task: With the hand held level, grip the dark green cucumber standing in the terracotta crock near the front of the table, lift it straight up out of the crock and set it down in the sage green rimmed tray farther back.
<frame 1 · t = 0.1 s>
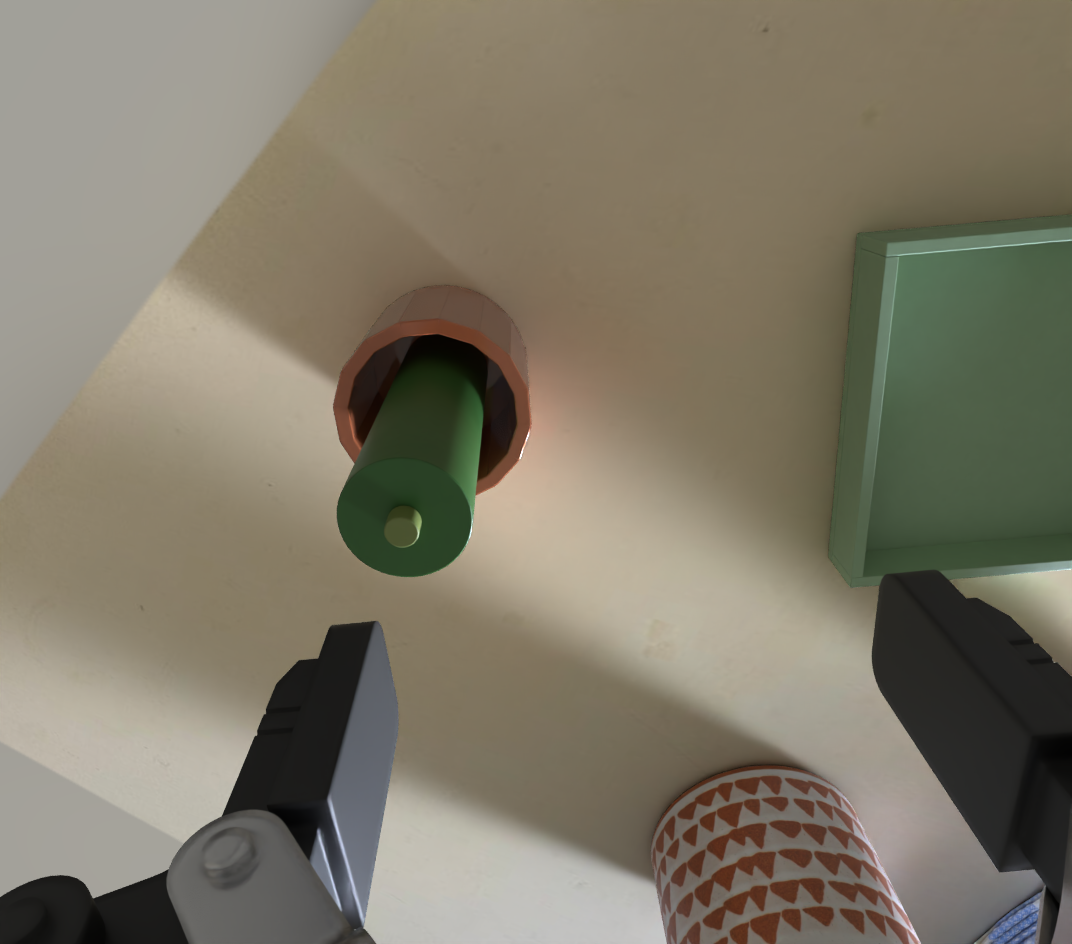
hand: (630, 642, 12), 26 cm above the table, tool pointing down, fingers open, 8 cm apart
crock: (446, 366, 37), on the table
planter: (750, 835, 51), on the table
tray: (991, 397, 38), on the table
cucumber: (445, 371, 36), point 1 cm above the table, touching crock
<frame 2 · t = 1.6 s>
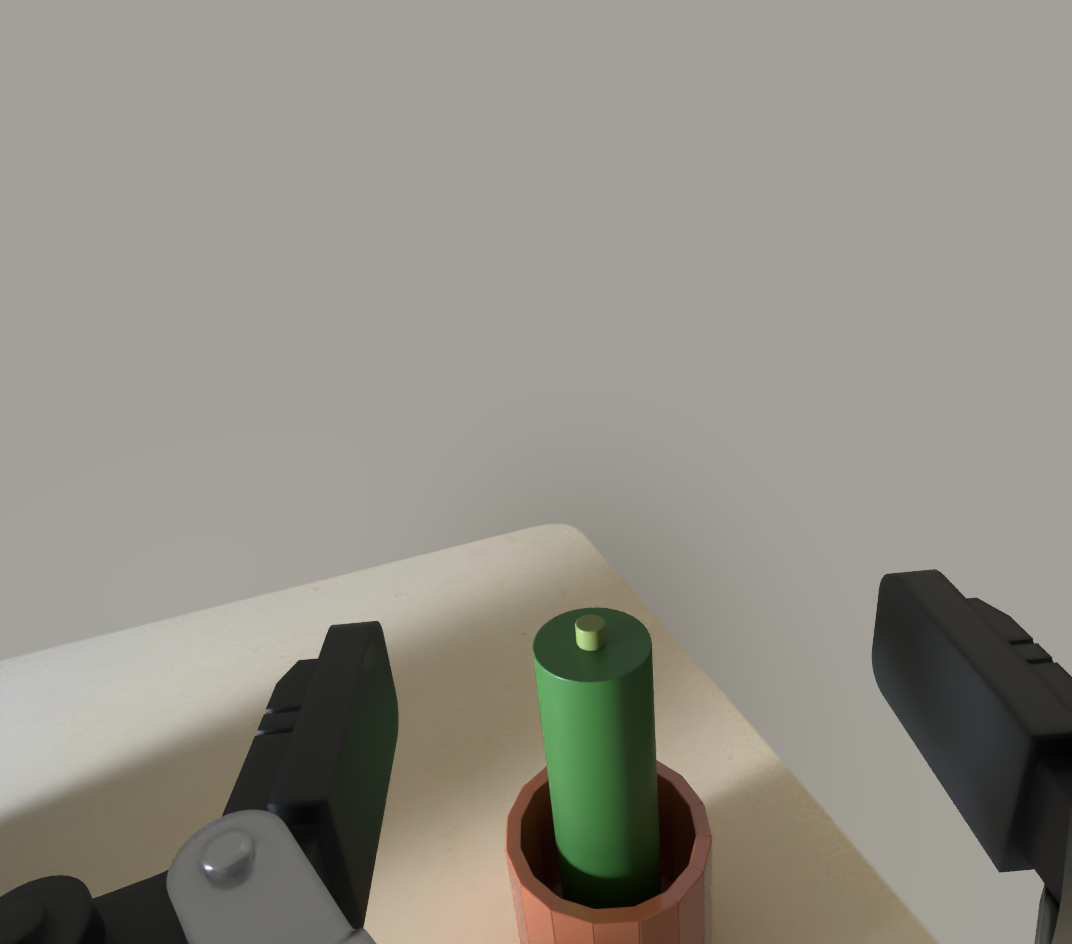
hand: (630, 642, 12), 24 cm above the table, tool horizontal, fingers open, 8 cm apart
crock: (615, 942, 32), on the table
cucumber: (614, 930, 32), point 1 cm above the table, touching crock
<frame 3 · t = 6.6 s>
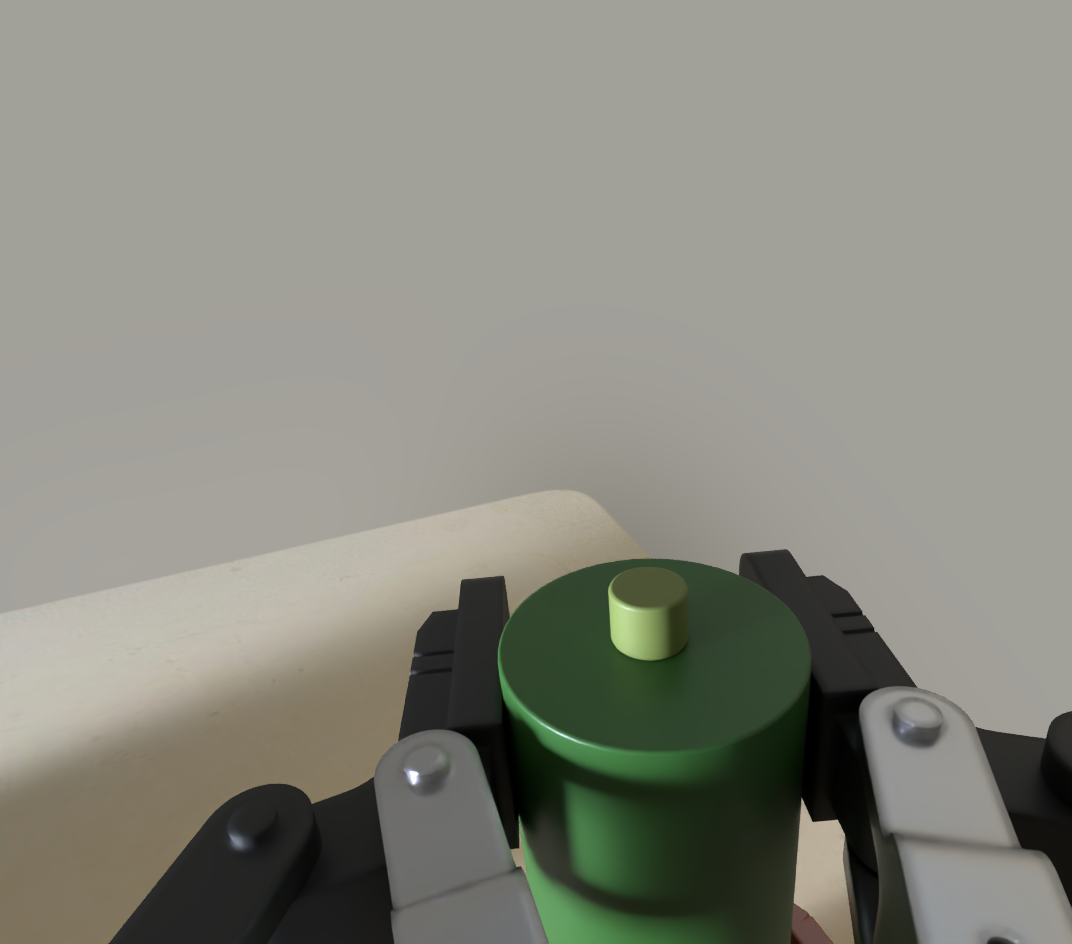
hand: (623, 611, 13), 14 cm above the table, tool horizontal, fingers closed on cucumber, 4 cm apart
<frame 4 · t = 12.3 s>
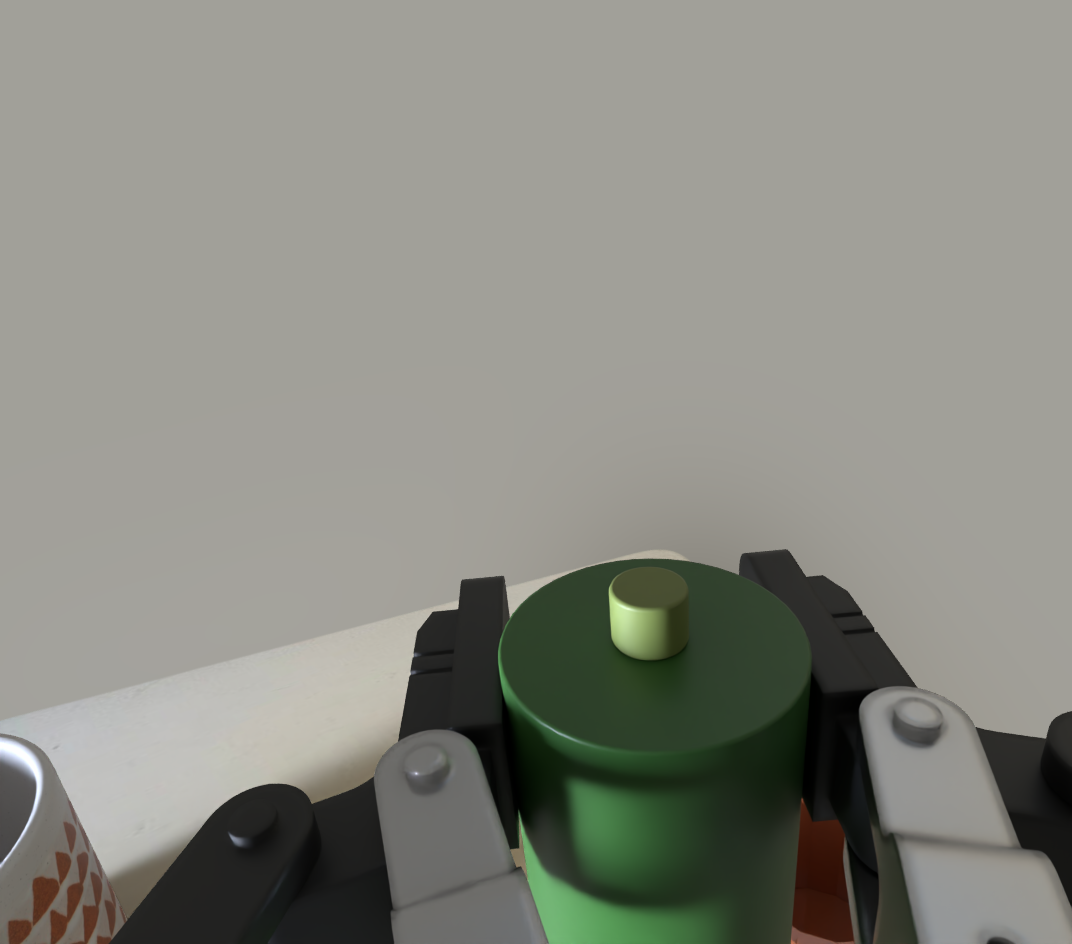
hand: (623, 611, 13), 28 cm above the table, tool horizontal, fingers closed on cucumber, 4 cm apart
when the fingers open (14 cm above the table, at t = 18.2 s): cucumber stays where it is, resting on tray.
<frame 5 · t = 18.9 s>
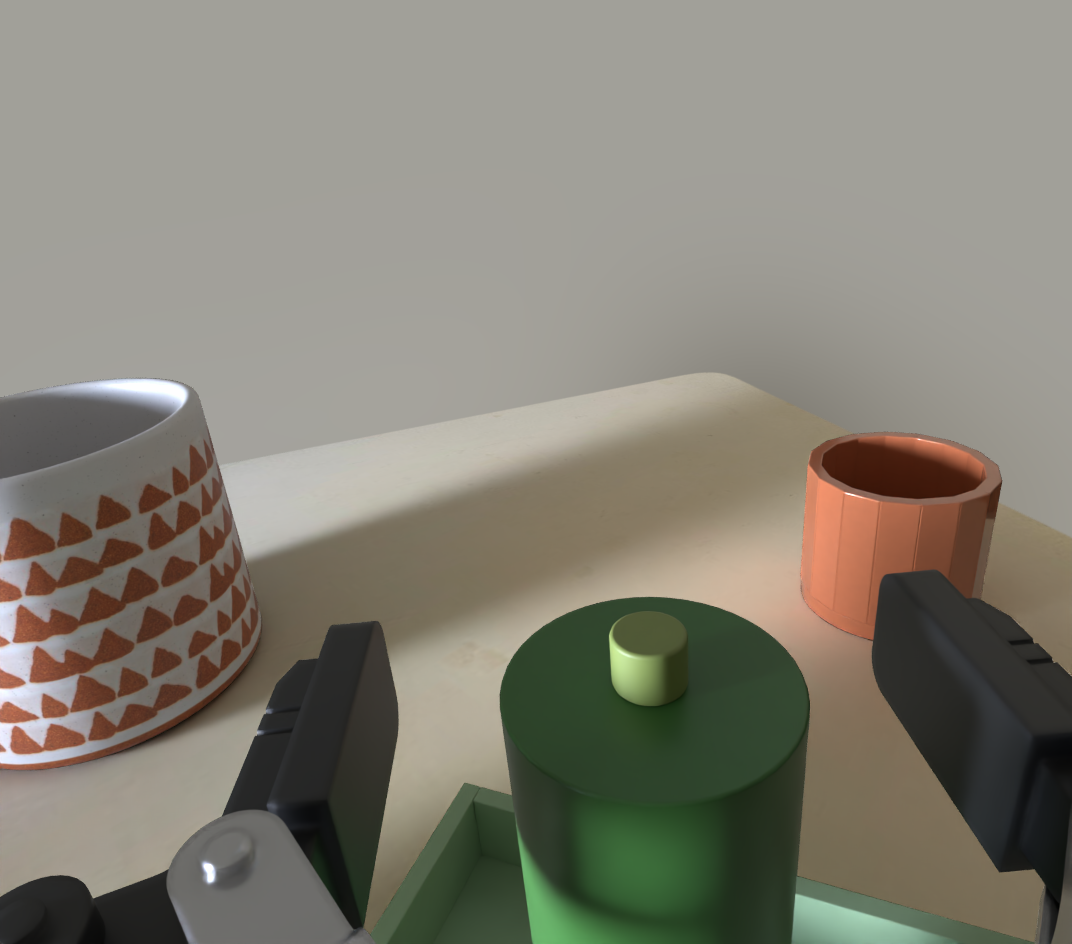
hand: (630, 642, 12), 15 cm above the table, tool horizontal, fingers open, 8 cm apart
crock: (884, 594, 37), on the table
planter: (121, 671, 37), on the table
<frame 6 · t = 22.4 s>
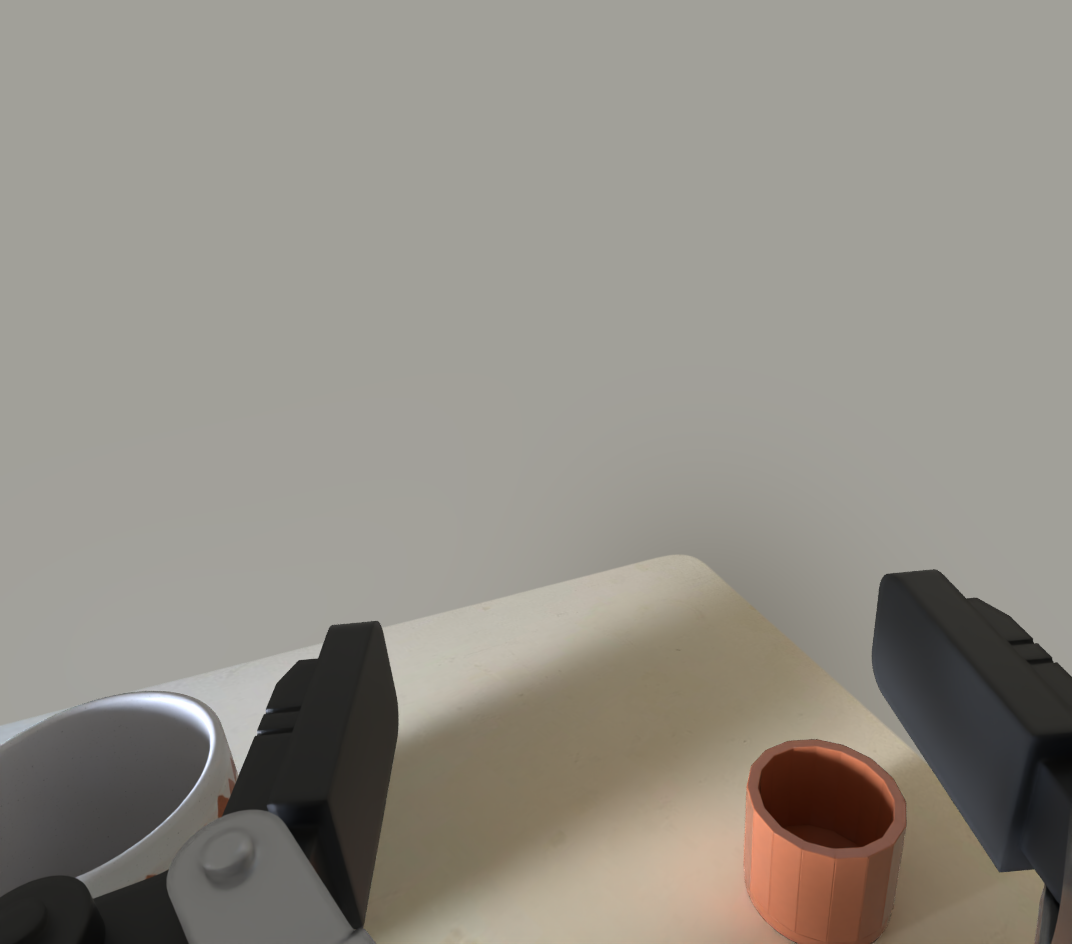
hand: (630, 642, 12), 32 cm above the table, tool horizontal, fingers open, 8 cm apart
crock: (815, 884, 43), on the table
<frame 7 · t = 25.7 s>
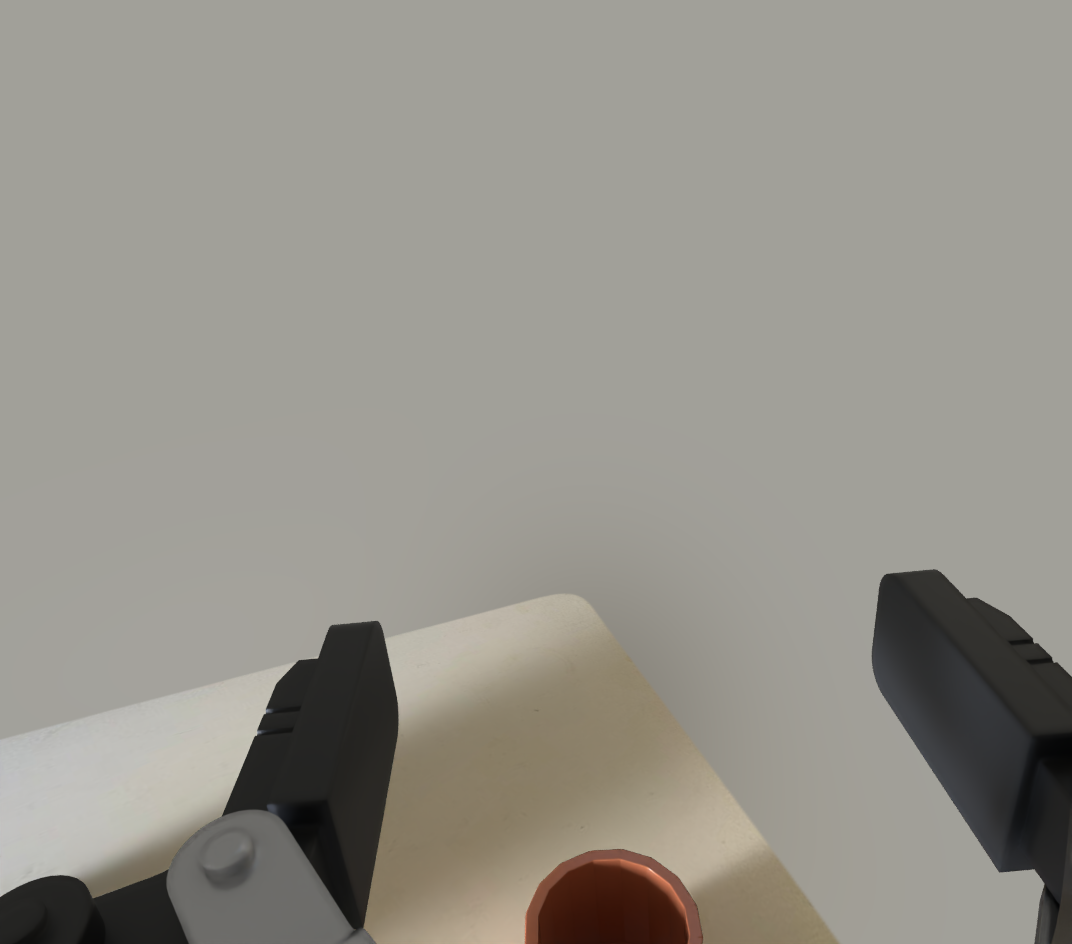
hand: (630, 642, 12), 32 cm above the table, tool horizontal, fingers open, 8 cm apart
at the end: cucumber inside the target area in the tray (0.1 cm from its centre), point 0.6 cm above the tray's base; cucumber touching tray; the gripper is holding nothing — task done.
